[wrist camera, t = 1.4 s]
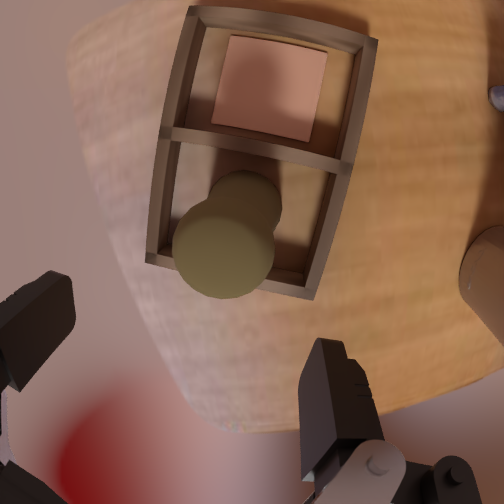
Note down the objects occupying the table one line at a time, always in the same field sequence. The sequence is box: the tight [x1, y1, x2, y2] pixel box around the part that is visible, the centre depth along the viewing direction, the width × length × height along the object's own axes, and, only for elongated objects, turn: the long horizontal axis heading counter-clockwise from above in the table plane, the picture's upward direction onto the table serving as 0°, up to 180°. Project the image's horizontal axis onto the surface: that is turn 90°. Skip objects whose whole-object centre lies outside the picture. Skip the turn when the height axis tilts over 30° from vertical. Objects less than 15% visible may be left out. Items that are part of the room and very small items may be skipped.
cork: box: [172, 170, 282, 299], centre depth 18 cm, size 6×6×11 cm
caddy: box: [145, 6, 378, 301], centre depth 21 cm, size 14×21×2 cm, turn 169°
